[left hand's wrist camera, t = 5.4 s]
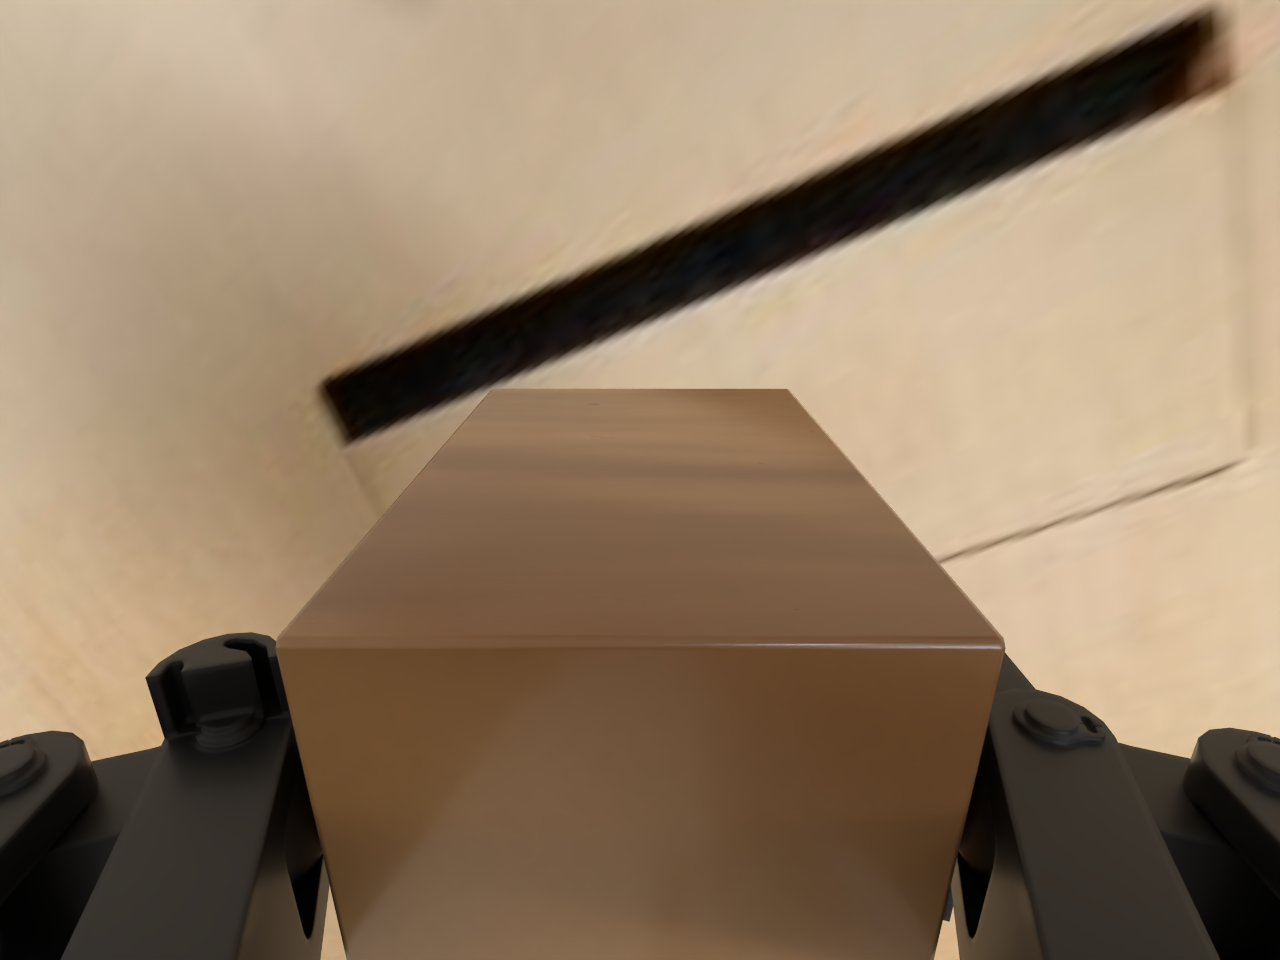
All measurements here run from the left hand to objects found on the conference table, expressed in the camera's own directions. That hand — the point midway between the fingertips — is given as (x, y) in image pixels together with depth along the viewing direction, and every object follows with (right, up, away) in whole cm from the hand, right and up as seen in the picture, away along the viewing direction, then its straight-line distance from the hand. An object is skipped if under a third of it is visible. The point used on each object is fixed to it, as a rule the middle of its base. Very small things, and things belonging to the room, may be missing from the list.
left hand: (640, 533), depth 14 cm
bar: (0, -8, +4) cm, 9 cm away
